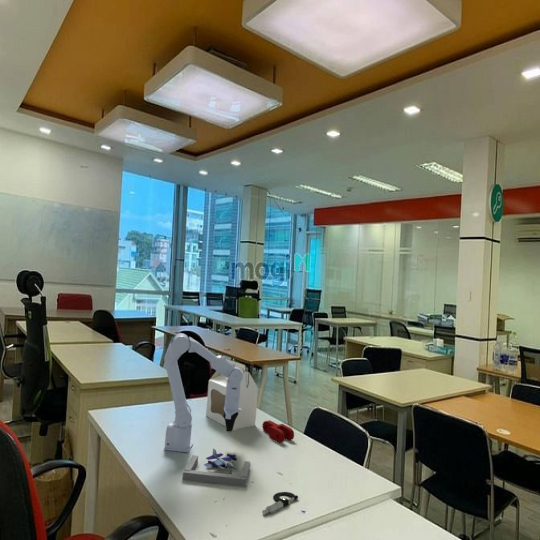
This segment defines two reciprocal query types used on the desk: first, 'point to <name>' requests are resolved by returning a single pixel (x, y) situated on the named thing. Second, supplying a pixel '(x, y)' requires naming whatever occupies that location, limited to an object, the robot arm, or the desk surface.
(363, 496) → the desk surface
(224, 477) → the cradle
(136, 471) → the desk surface
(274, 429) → the mechanical linkage
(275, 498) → the micrometer
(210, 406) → the gable box
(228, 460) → the toy airplane
